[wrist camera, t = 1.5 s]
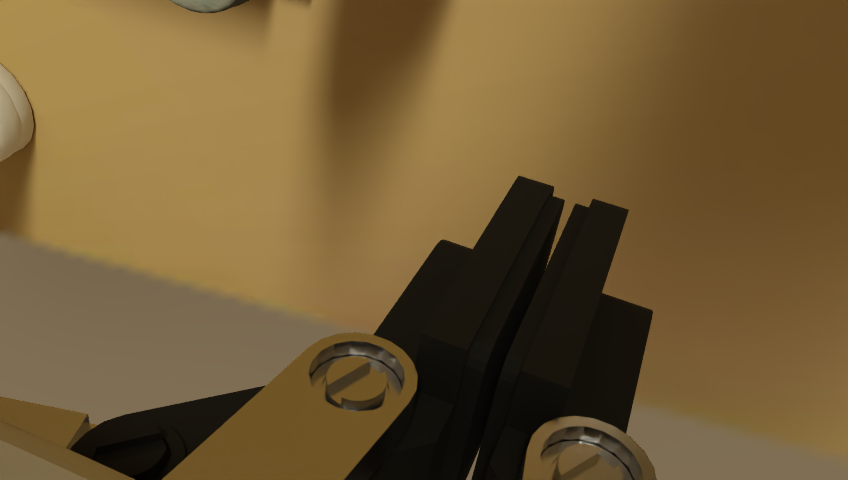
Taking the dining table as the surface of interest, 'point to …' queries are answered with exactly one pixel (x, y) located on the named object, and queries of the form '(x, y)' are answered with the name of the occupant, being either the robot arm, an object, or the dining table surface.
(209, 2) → the sauce bottle
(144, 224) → the dining table surface
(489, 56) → the dining table surface
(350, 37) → the dining table surface
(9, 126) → the bottle
